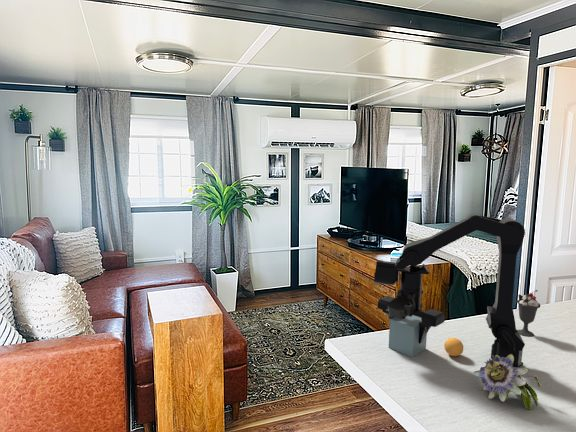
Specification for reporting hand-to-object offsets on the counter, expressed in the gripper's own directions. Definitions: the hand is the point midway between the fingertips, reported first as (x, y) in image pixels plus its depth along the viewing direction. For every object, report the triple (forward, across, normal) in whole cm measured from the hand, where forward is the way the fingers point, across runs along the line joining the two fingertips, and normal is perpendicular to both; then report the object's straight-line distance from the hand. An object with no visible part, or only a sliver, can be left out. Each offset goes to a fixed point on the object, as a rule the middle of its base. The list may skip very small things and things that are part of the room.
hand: (407, 338), depth 115 cm
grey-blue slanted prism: (+3, 0, 0) cm, 3 cm away
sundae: (+3, +20, +38) cm, 43 cm away
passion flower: (+3, +28, -4) cm, 28 cm away
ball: (0, +11, +6) cm, 13 cm away
